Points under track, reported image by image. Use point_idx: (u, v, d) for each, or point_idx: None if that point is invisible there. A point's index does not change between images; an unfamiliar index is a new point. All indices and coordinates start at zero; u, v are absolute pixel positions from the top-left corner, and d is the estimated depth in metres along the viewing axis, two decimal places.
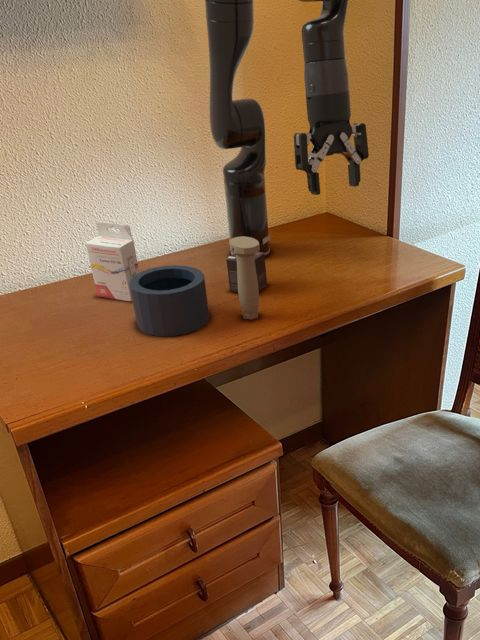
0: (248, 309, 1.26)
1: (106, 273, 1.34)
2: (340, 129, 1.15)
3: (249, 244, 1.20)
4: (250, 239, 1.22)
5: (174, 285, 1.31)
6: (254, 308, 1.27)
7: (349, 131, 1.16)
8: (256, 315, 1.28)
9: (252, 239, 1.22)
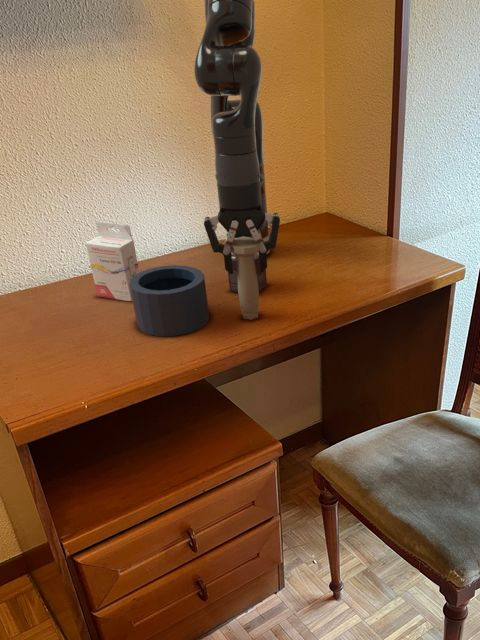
0: (248, 309, 1.26)
1: (106, 273, 1.34)
2: (249, 215, 1.17)
3: (249, 244, 1.20)
4: (250, 239, 1.22)
5: (174, 285, 1.31)
6: (254, 308, 1.27)
7: (260, 218, 1.17)
8: (257, 315, 1.28)
9: (252, 240, 1.22)
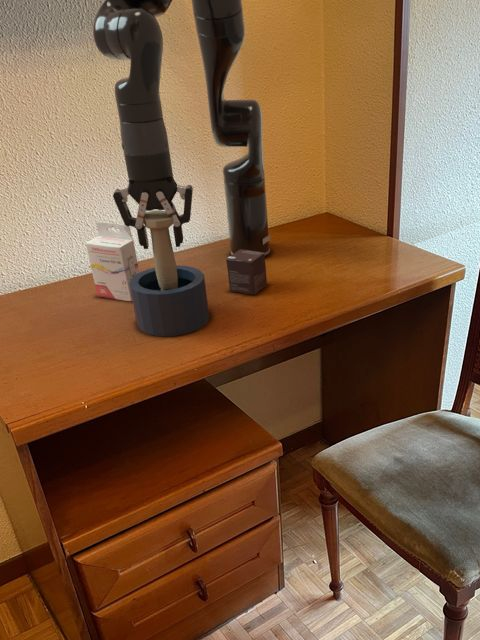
0: (166, 286, 1.23)
1: (106, 273, 1.34)
2: (160, 187, 1.13)
3: (162, 217, 1.16)
4: (164, 213, 1.18)
5: None
6: (171, 285, 1.23)
7: (171, 190, 1.14)
8: None
9: (166, 213, 1.18)
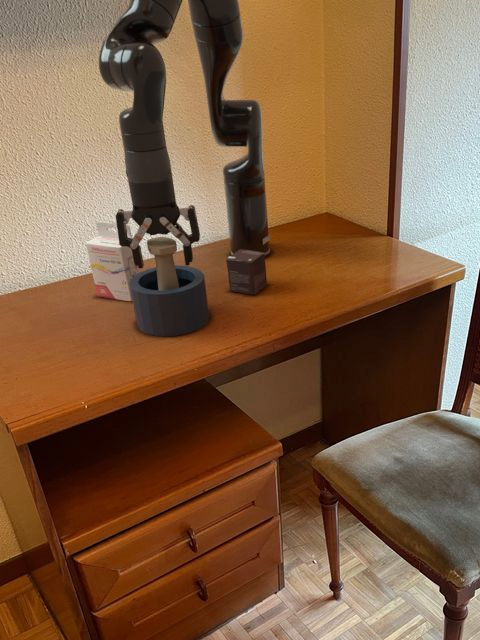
0: None
1: (106, 273, 1.34)
2: (163, 212, 1.16)
3: (166, 244, 1.19)
4: (168, 239, 1.21)
5: None
6: None
7: (174, 215, 1.16)
8: None
9: (170, 240, 1.21)
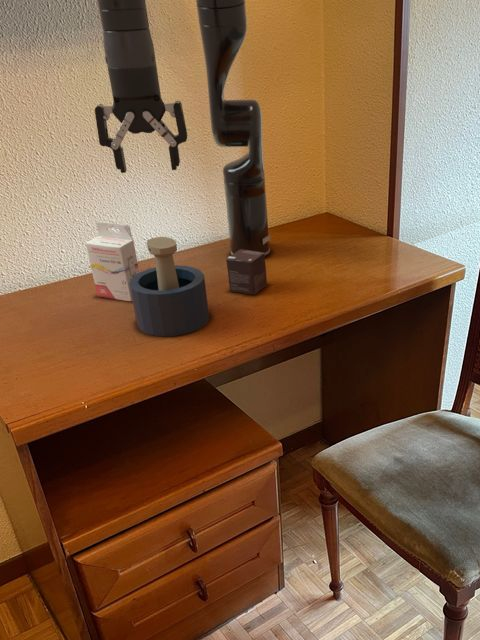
0: None
1: (106, 273, 1.34)
2: (146, 107, 1.06)
3: (166, 244, 1.19)
4: (168, 239, 1.21)
5: None
6: None
7: (159, 110, 1.07)
8: None
9: (170, 240, 1.21)
